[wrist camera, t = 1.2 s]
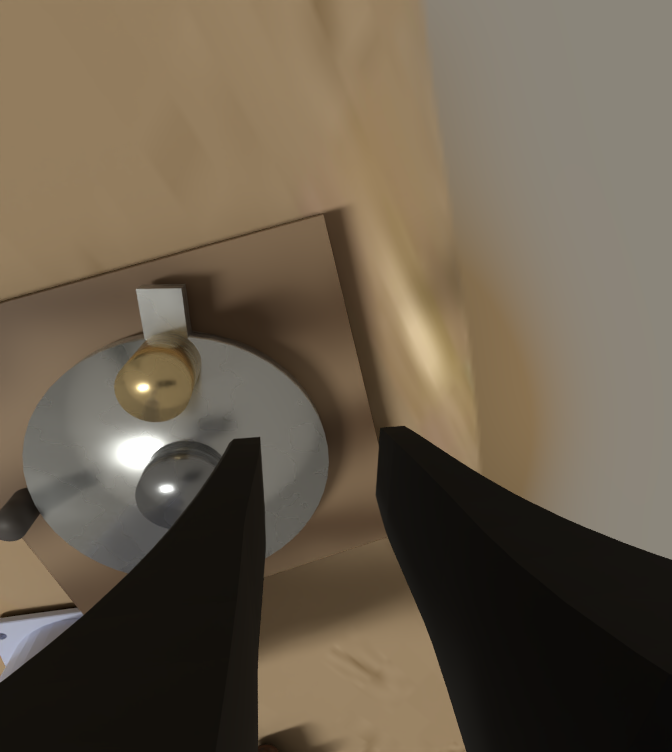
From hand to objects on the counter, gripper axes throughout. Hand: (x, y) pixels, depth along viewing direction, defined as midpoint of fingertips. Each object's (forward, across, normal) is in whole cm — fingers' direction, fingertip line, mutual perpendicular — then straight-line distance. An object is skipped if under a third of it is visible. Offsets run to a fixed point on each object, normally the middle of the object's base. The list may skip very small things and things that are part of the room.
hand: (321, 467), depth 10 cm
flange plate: (+9, +5, +6) cm, 12 cm away
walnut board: (+10, +5, +6) cm, 13 cm away
